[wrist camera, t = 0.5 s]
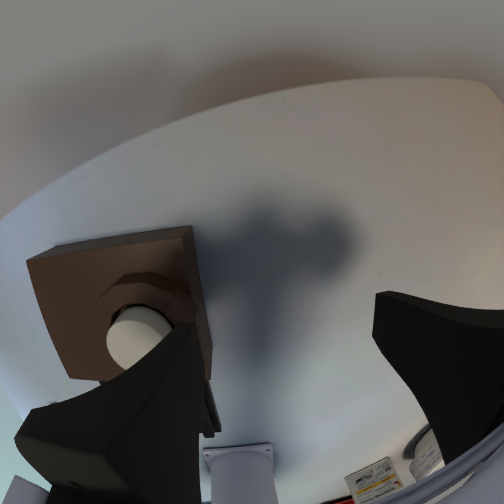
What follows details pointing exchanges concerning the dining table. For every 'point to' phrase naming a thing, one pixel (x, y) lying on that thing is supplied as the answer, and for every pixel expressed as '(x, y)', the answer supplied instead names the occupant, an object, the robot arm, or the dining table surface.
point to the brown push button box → (116, 293)
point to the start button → (135, 334)
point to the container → (374, 482)
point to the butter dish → (345, 501)
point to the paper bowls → (426, 457)
